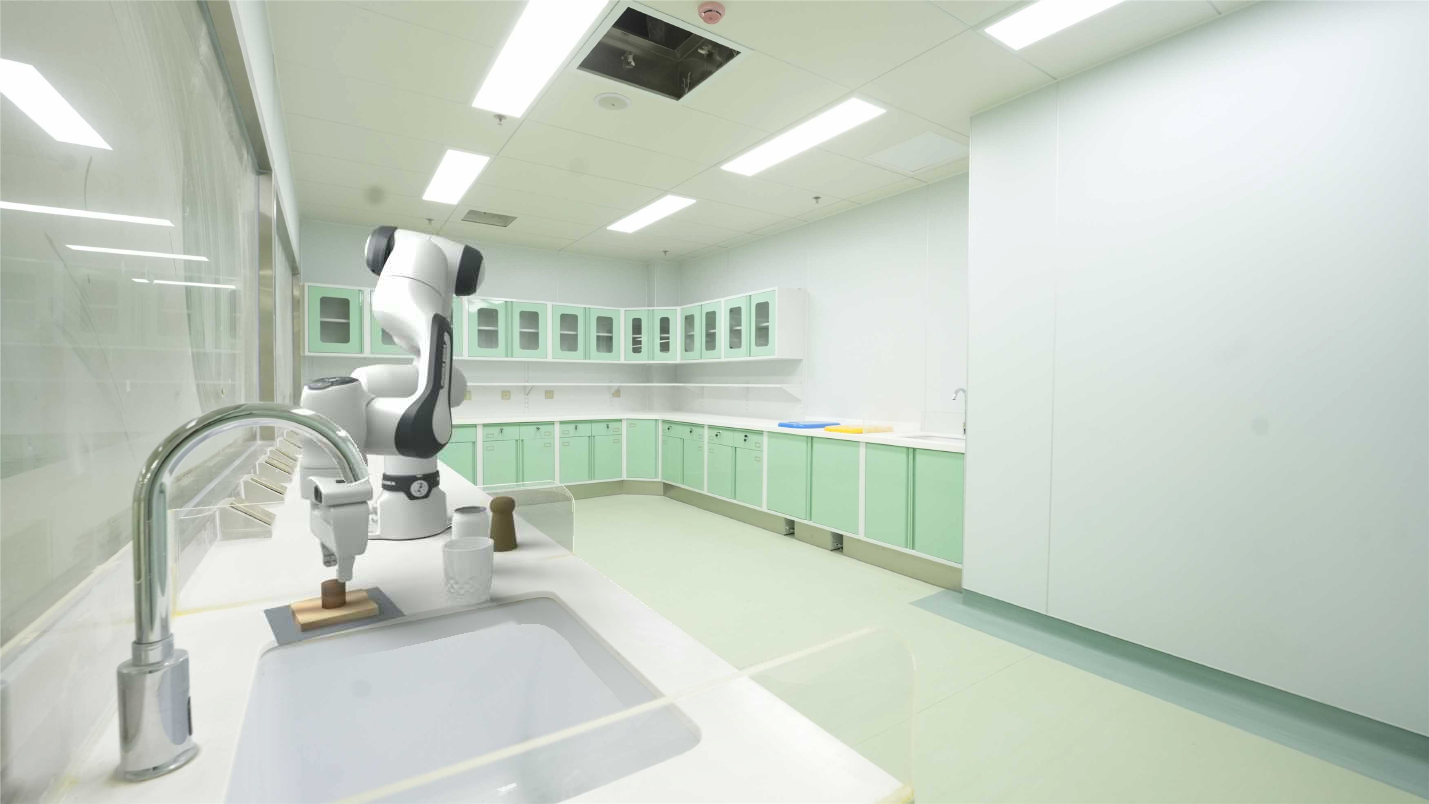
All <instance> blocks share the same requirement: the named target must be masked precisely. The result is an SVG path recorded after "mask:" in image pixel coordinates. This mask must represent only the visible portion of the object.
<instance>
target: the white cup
mask: <svg viewBox="0 0 1429 804" xmlns="http://www.w3.org/2000/svg"><path fill="white" fill-rule="evenodd" d="M493 550H494V541H493V540H492V539H490V538H486V537H464V538H458V539H453V540H452V539H451V540H448V541H445V542H444V543H443V544H442V564H443V578H444V588H445V596H446V597H445V598H446V603H448V604H449V605H452V606H456V607H462V606H463V607H466V606H467V607H468V606H472V605H478V604H482V603H484V602H486V601H488V602H491V590H492V584H493V571H494V569H493V568H494V567H493V566H494V552H493Z"/></svg>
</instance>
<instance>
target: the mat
mask: <svg viewBox="0 0 1429 804" xmlns="http://www.w3.org/2000/svg"><path fill="white" fill-rule="evenodd" d="M362 589H363V590H364V591H365V592H366V593H367V594H368V595H369V596H370V598H371V599H372V600H373V601H374V602H375V603H376V604H377V605H378V606H379V614H377V615H373V616H369V617H364V618H360V619H356V620H352V621H347V622H343V623H339V624H334V625H330V626H326V627H322V628H317V629H313V630H309V631H304V632H301V631H300V629H299V627H298V625H297V623H296V621H295V620H294V618H293V616H292V614H291V612H290V604H287V605H285V604H284V605H281V606H276V607H270V608H267V609H263V613H264V614H265V617H266V620H267V622H268V624H269V626H270V628H271V631H272V634H273V635H274V638H275V640H276V643H277V645H278V646H279V647H280V646H284V645H288V644H293V643H297V642H301V641H302V642H303V641H305V640H309V639H313V638H317V637H322V636H325V635H330V634H334V633H339V632H344V631H347V630H351V629H356V628H359V627H363V626H367V625H372V624H377V623H380V622H384V621H388V620H392V619H397V618H401V617H404V616H405V617H406V614H405V613H404V611H402V610H401V608H399V606H397V604H395V603H394V602H393V601H392V600H391V599H390V598H389V596H387V594H385V592H384V591H383V590H382V589H381V588H379V586H374V587H368V588H362Z"/></svg>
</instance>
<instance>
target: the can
mask: <svg viewBox="0 0 1429 804" xmlns="http://www.w3.org/2000/svg"><path fill="white" fill-rule="evenodd" d="M489 519H490V517H489V514H488V511H487V508H486V506H480V505H470V506H461V507H458V508H455V509H454V514H453V516H452V517H451V520H452V526H451V540H453V539H458V538H464V537H486V538H489V536H490V531H489V530H490V529H489V527H490V525H489V522H490V521H489Z"/></svg>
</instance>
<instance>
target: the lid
mask: <svg viewBox="0 0 1429 804" xmlns="http://www.w3.org/2000/svg"><path fill="white" fill-rule="evenodd" d="M346 585H347V582H342V583H341V582H339V581H338V579H337V578H331V579H328V580H324V581H322V582H321V583H320V587H321V589H320V590H321V593H320V595H321V596H319V597H315V598H309V599H305V600H300V601H295V602H290V603H289V605H290V612H291V614H292V616H293V618H294V620H295V621H296V623H297V625H298V627H299V629H300V631H301V632H304V631H309V630H313V629H317V628H322V627H326V626H330V625H334V624H339V623H343V622H347V621H352V620H356V619H360V618H364V617H369V616H373V615H377V614H379V606H378V605H377V604H376V603H375V602H374V601H373V600H372V599H371V598H370V596H369V595H368V594H367V593H366V592H365V591H364V590H363V589H364V588H359V589H354V590H348V591H347V590H346V589H347V586H346Z"/></svg>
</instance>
